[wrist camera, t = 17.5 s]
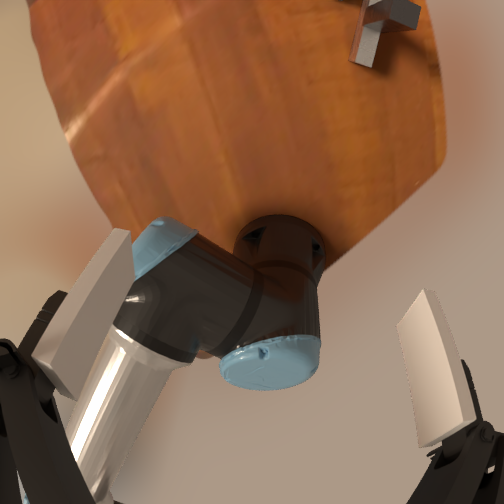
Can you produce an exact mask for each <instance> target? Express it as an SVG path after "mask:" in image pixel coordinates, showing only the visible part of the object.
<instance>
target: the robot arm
mask: <svg viewBox="0 0 504 504" xmlns="http://www.w3.org/2000/svg"><path fill="white" fill-rule="evenodd" d="M198 232H199V231H198V230H196V229H191V228H190V227H188V226H186V225H184V224H182V223H181V222H179V221H177V220H175V219H173V218H171V217H167V216H164V217H159V218H157V219H155V220H154V221H153V222H151V223H150V224H149V225H148V227H147V228H146V229H145V230H144V231H143V232H142V233H141V234H140V236H139V237H138V238H137V239H136V240H135V242H134V243H133V244H132V243H131V232H130V231H128V230H123V229H118V228H114V229H113V231H112V232H111V233H110V235H109V236H108V238H107V239H106V240H105V241H104V243H103V244H102V245H101V247H100V248H99V249H98V251H97V252H96V254H95V255H94V256H93V258H92V259H91V260H90V262H89V263H88V265H87V266H86V268H85V269H84V271H83V272H82V273H81V275H80V276H79V278H78V280H77V281H76V282H75V284H74V285H73V287H72V288H71V290H70V291H69V293H66V292H63V291H60V290H58V291H57V292H56V293H55V294H53V295H52V296H51V297H49V298H48V300H47V301H46V303H45V304H44V306H43V307H42V310H41V311H40V312H39V314H38V315H37V318H36V319H35V320H34V322H33V323H32V325H31V327H30V328H29V330H28V331H27V333H26V335H25V337H24V338H23V340H22V342H21V343H20V345H19V347H18V348H16V346H15V345H14V344H13V343H12V342H11V341H10V340H8V339H0V504H22V500H21V494H20V489H19V483H18V476H17V471H18V474H19V477H20V479H21V482H22V485H23V488H24V490H25V498H24V504H123V503H120V502H117V501H114V500H113V497H112V494H111V492H110V488H111V486H112V485H113V483H114V481H115V479H116V477H117V475H118V473H119V471H120V469H121V467H122V465H123V463H124V461H125V459H126V457H127V455H128V454H129V452H130V450H131V448H132V446H133V444H134V442H135V440H136V438H137V436H138V434H139V433H140V431H141V429H142V427H143V425H144V423H145V421H146V419H147V418H148V416H149V414H150V412H151V410H152V408H153V406H154V404H155V402H156V401H157V399H158V397H159V395H160V393H161V391H162V389H163V387H164V385H165V384H166V382H167V380H168V378H169V376H170V374H171V372H172V371H173V370H175V369H177V368H181V367H185V366H188V365H191V363H192V362H193V360H194V358H195V357H196V355H197V353H198V351H199V350H203V351H206V352H208V353H210V354H212V355H214V356H216V357H218V358H220V359H221V361H220V363H219V368H220V373H221V375H222V377H224V379H225V380H226V381H227V382H229V383H230V384H232V385H235V386H238V387H241V388H245V389H250V390H264V391H265V390H279V389H285V388H289V387H293V386H296V385H298V384H300V383H302V382H304V381H306V380H308V379H309V378H310V377H311V376H312V375H313V374H314V373H315V372H316V370H317V368H318V365H319V353H320V347H321V340H320V324H319V309H318V296H317V286H318V283H319V281H320V278H321V276H322V273H323V270H324V267H325V262H326V255H325V247H324V243H323V240H322V238H321V236H320V235H319V233H318V232H317V231H316V230H315V229H314V228H313V227H312V226H311V225H310V224H308V223H307V222H305V221H303V220H301V219H298V218H296V217H292V216H287V215H270V216H265V217H261V218H258V219H256V220H254V221H252V222H251V223H249V224H248V225H246V226H245V227H244V228H243V229H242V230H241V232H240V233H239V235H238V237H237V239H236V242H235V246H234V250H233V255H232V254H231V253H229V252H228V251H226V250H224V249H223V248H221V247H219V246H218V245H216V244H215V243H213V242H212V241H210V240H208V239H207V238H205V237H204V236H202V235H201V234H199V233H198ZM396 328H397V332H398V336H399V340H400V344H401V349H402V353H403V357H404V362H405V366H406V371H407V376H408V381H409V386H410V392H411V397H412V402H413V409H414V415H415V421H416V429H417V436H418V444H419V448H422V447H428V446H433V445H435V444H437V443H438V442H440V441H442V446H440V447H438V448H436V449H435V450H433V451H431V452H429V453H428V454H427V457H429V456H431V455H433V454H435V453H436V454H435V456H433V457H432V458H430V459H431V460H432V461H431V463H430V465H429V467H428V469H427V471H426V472H425V474H424V476H423V478H422V480H421V481H420V483H419V484H418V486H417V488H416V489H415V491H414V493H413V494H412V496H411V497H410V499H409V500H408V502H407V503H406V504H504V433H501V432H496V431H494V428H493V426H492V425H491V424H490V423H489V422H487V421H483V418H482V414H481V410H480V406H479V402H478V398H477V394H476V390H474V388H475V387H474V384H473V381H472V377H471V373H470V370H469V368H468V366H467V365H466V363H465V361H464V360H460V357H459V353H458V350H457V347H456V345H455V342H454V339H453V336H452V333H451V330H450V328H449V325H448V322H447V320H446V317H445V315H444V312H443V310H442V307H441V305H440V302H439V300H438V297H437V295H436V293H435V291H432V290H427V289H422V291H421V292H420V294H419V295H418V297H417V298H416V300H415V301H414V303H413V304H412V305H411V307H410V308H409V309H408V311H407V312H406V314H405V315H404V317H403V318H402V319H401V321H400V322H399V323H398V324H397V326H396ZM107 334H108V335H107ZM106 336H107V337H106ZM105 338H106V339H105ZM104 340H105V341H104ZM103 342H104V343H103ZM102 344H103V345H102ZM101 346H102V347H101ZM96 357H97V358H96ZM55 388H56V389H57V390H58V392H59V393H60V394H61V395H64V396H66V397H68V398H70V399H73V400H75V401H77V403H76V405H75V408H74V410H73V413H72V415H71V418H70V420H69V423H68V425H67V428H66V431H65V430H64V427H63V424H62V421H61V418H60V415H59V412H58V409H57V405H56V402H55V398H54V396H53V392H54V390H55ZM494 465H495V468H494V471H493V472H491V473H488V468H490V467H492V466H494Z"/></svg>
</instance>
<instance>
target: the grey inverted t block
mask: <svg viewBox="0 0 504 504" xmlns="http://www.w3.org/2000/svg"><path fill="white" fill-rule="evenodd" d="M420 10H421V6H418V5H416V4H414V3H412V2H410V1H408V0H363V2H362V6H361V11H360V15H359V19H358V24H357V28H356V32H355V36H354V40H353V44H352V48H351V52H350V56H349V60H348V61H351V62H354V63H357V64H360V65H363V66H367V67H372V63H373V60H374V56H375V52H376V48H377V44H378V40H379V36H380V32H381V33H387V32H397V31H410V30H416V28H417V24H418V19H419V15H420Z"/></svg>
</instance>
